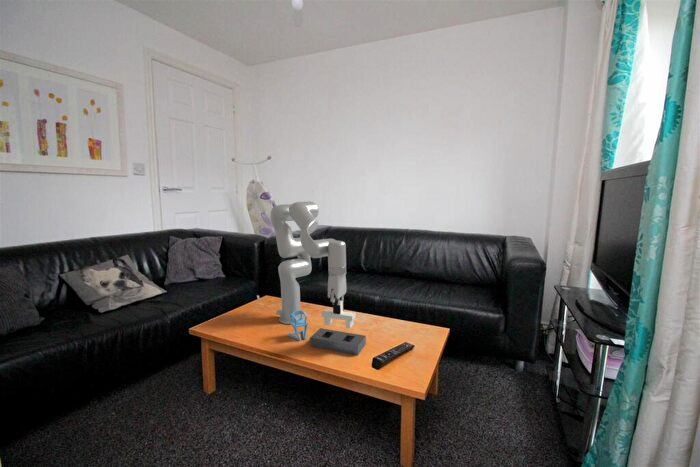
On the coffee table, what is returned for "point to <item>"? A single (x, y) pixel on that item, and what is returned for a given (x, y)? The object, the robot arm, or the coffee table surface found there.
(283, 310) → the robot arm
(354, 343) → the slotted plate
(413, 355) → the coffee table surface
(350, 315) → the white stepped block
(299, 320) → the chair
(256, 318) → the coffee table surface
